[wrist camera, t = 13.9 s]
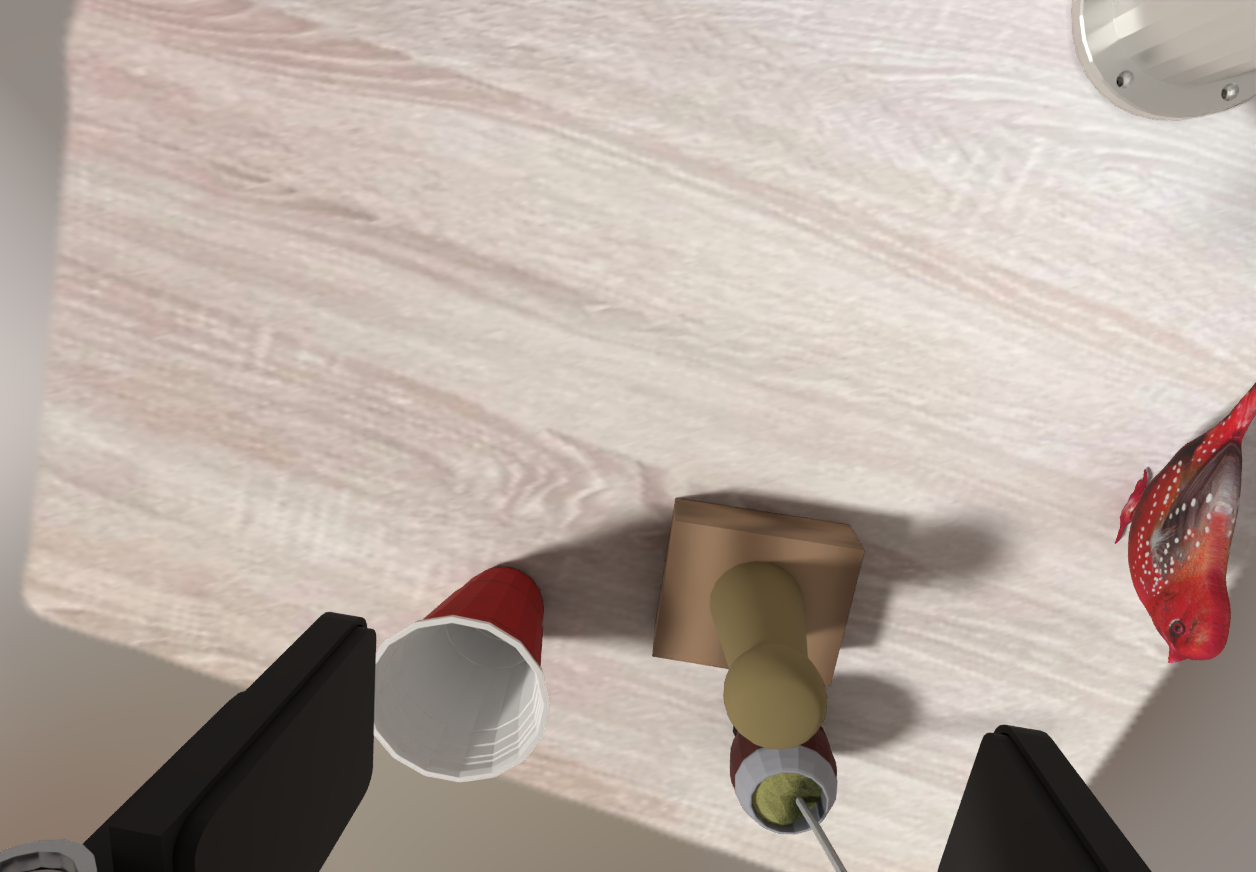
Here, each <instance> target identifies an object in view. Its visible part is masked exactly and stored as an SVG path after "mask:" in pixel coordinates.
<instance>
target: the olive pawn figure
mask: <svg viewBox="0 0 1256 872" xmlns="http://www.w3.org/2000/svg"><path fill="white" fill-rule="evenodd" d="M710 611H711V614H712V617H713V621H714V624H715V627H716V630H717V633H718V636H719V639H720V642H721V645H722V649H723V652H724V655H725V658H726V661H727V664H728V667H729V671H728V673H727V676H726V679H725V682H724V704H725V707H726V711H727V714H728V717H729V719H730V721H731V723H732V724H733V725H734V727H735V728H736V729H737V731H738V732H739V733H740V734H741V735H743V736H744V737H745V738H747V739H748V740H750V741H751V742H752V743H754V744H756V745H759V746H761V747H764V748H767V749H778V750H783V749H788V748H794V747H796V746H798V745H801V744H803V743H805V742H807V741H808V740H809V739H810V738H811V737H812V736H813V735H814V734H815V733H816V732H817V731H818V730H819V728H820V726H821V724H822V722H823V720H824V719H825V716H826V708H827V693H826V689H825V685H824V681H823V679H822V676H821V674H820V673H819V671H818V670H817V668H816V667H815V666H814V664H813V663H812V662H811V660H810V659H809V658H808V650H807V638H806V625H805V612H804V600H803V596H802V592H801V588H800V586H799V585H798V583H797V582H796V580H795V579H794V577H793V576H792V575H791V574H789V573H788V572H787V571H785V570H784V569H783V568H781V567H779V566H776V565H773V564H771V563H768V562H754V561H752V562H747V563H743V564H739V565H736V566H735V567H733V568H731V569H729V570H727V571H726V572H725V573H724V574H723V575H722V576H721V577H720V578H719V579H718V580H717V581H716V583H715V585H714V587H713V589H712V592H711V594H710Z"/></svg>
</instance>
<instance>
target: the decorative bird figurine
mask: <svg viewBox="0 0 1256 872" xmlns="http://www.w3.org/2000/svg"><path fill="white" fill-rule="evenodd" d="M1255 415H1256V383H1255V384H1254V385H1253V387H1252V388H1251V389H1250V390H1249V391H1248V393H1247V394H1246V395H1245V396H1244V397H1243V398H1242V399H1241V400H1240V402H1239V403H1238V404H1237V405H1236V406H1235V408H1234V409H1233V410H1232V411H1231V413H1230V414H1229V415H1228V416H1227V417H1226V418H1224V419H1223V421H1221V422H1220V423H1219V424H1218V425H1216V426H1215V427H1214V428H1212V429H1211V430H1209V431H1208V432H1206V433H1205V434H1203V435H1201V436H1199V437H1198V438H1196V439H1194V440H1193V441H1191V442H1189V443H1187V444H1186V445H1184V446H1183V447H1182V448H1181V449H1180V450H1179V451H1178V452H1177V453H1176V454H1175V456H1174V457H1173V458H1172V459H1171V461H1170V462H1169V463H1168V464H1167V465H1166V466H1165V467H1164V468H1163V469H1162V470H1161V471H1160V473H1159V474H1157V475H1156V476H1155V477H1154V478H1153V480H1152V481H1151V482H1150V483H1149V484H1148V486H1147V487H1146V483H1147V472H1146V469H1145V470H1144V474H1143V475H1144V477H1143V481H1141V480H1139V481H1138V482H1137V484H1136V487H1135V490H1134V492H1133V493H1132V494H1131V495H1130V498H1129V500H1128V503H1127V504H1126V505H1125V507H1124V509H1123V510H1122V513H1121V516H1120V529H1119V532H1118V535H1117V539H1116V541H1115V544H1116V543H1117V542H1118V541H1119V540H1120V538H1121V536H1122V532H1123V530H1124V527H1126V526H1127V525H1128V524H1129V523H1131V522H1132V523H1131V527H1130V532H1129V541H1128V562H1129V568H1130V573H1131V578H1132V581H1133V585H1134V588H1135V590H1136V592H1137V594H1138V597H1139V599H1140V600H1141V602H1142V603H1143V605H1144V606H1145V608H1146V610H1147V611H1148V613H1149V615H1150V616H1151V618H1152V621H1153V623H1154V625H1155V627H1156V629H1157V631H1158V632H1159V633H1160V635H1161V636H1162V637H1163V638H1164V640H1165V641H1166V642H1167V644H1168V645H1169V657H1168V659H1169V661H1168V663H1174V662H1179V661H1182V660H1185V659H1191V660H1208V659H1212V658H1214V657H1216V656H1218V655H1219V654H1220V653H1221V652H1222V650H1223V649H1224V647H1225V645H1226V642H1227V638H1228V633H1229V627H1230V619H1231V611H1230V603H1229V597H1228V592H1227V586H1226V571H1227V563H1228V557H1229V551H1230V545H1231V540H1232V536H1233V532H1234V527H1235V522H1236V517H1237V513H1238V506H1239V497H1240V490H1241V471H1242V452H1241V442H1242V438H1243V436H1244V434H1245V432H1246V430H1247V428H1248V426H1249V425H1250V423H1251V421H1252V420H1253V418H1254V416H1255ZM1141 483H1142V484H1141ZM1145 487H1146V489H1145V490H1144V488H1145ZM1143 490H1144V491H1143Z"/></svg>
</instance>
